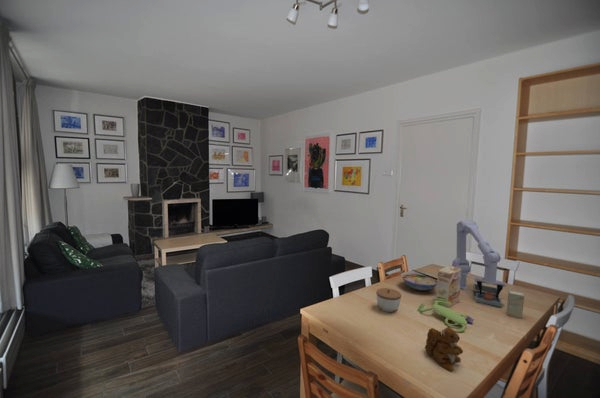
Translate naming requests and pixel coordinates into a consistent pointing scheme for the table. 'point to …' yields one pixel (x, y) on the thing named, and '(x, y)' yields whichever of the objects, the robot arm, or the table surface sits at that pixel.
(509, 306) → the skincare box
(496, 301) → the tray
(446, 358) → the stuffed squirrel
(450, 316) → the figurine
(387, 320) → the table surface
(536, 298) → the table surface
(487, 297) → the ball
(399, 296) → the lidded bowl
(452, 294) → the coffeecake box
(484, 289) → the grey square frame
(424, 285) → the ramen bowl
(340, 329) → the table surface
